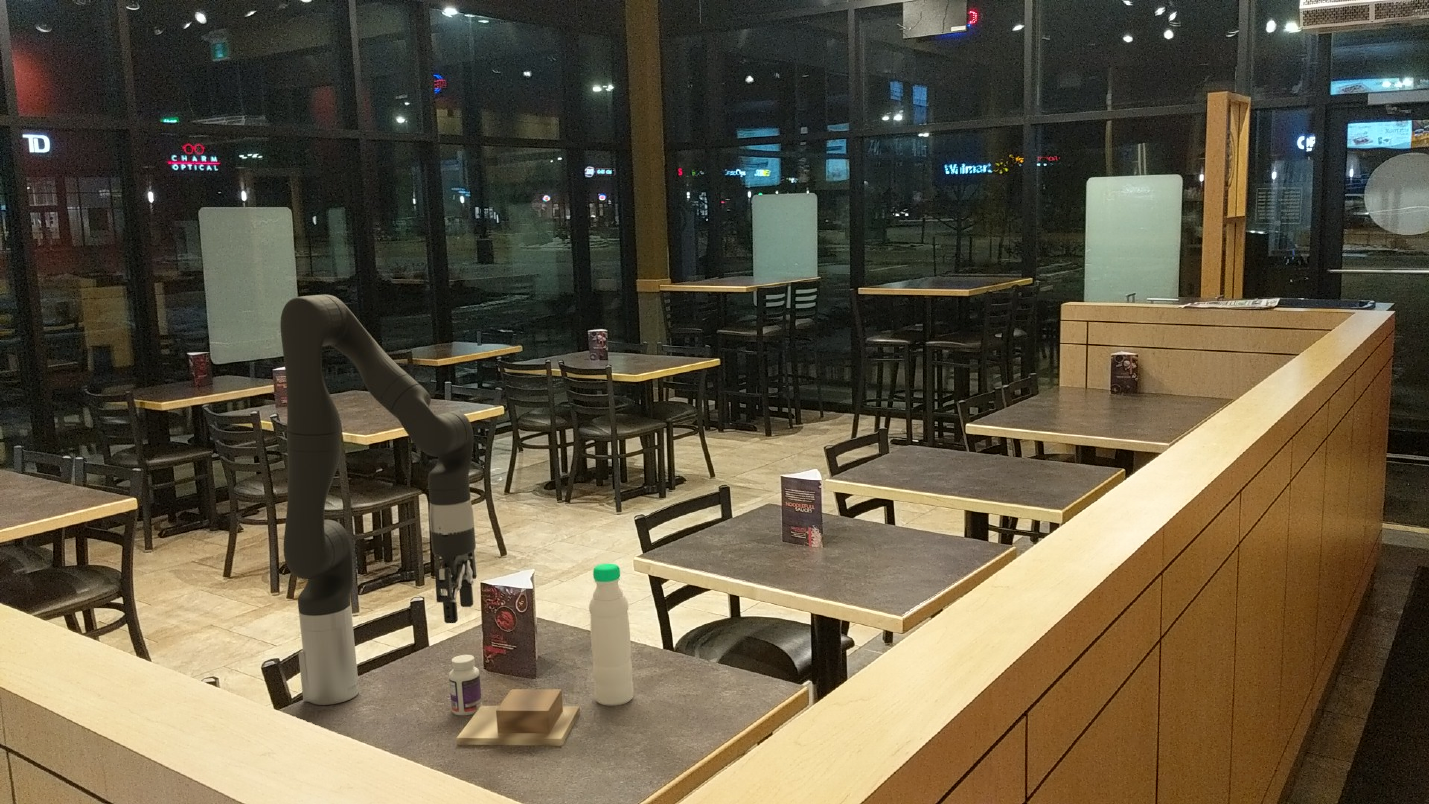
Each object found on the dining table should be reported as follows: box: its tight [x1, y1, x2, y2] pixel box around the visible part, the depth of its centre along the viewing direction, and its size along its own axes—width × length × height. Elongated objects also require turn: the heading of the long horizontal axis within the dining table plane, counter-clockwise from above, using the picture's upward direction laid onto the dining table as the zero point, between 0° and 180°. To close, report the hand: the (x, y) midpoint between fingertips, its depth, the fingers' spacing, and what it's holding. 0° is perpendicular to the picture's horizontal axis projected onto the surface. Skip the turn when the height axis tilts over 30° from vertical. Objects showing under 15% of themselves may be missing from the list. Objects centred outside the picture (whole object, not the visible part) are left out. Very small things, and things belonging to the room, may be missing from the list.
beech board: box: [456, 705, 581, 747], centre depth 199 cm, size 18×13×1 cm
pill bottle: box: [448, 654, 483, 716], centre depth 207 cm, size 5×5×10 cm
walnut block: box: [496, 688, 563, 733], centre depth 198 cm, size 9×9×4 cm
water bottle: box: [588, 563, 635, 707], centre depth 207 cm, size 7×7×25 cm
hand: (459, 614), depth 205 cm, fingers open, 8 cm apart
